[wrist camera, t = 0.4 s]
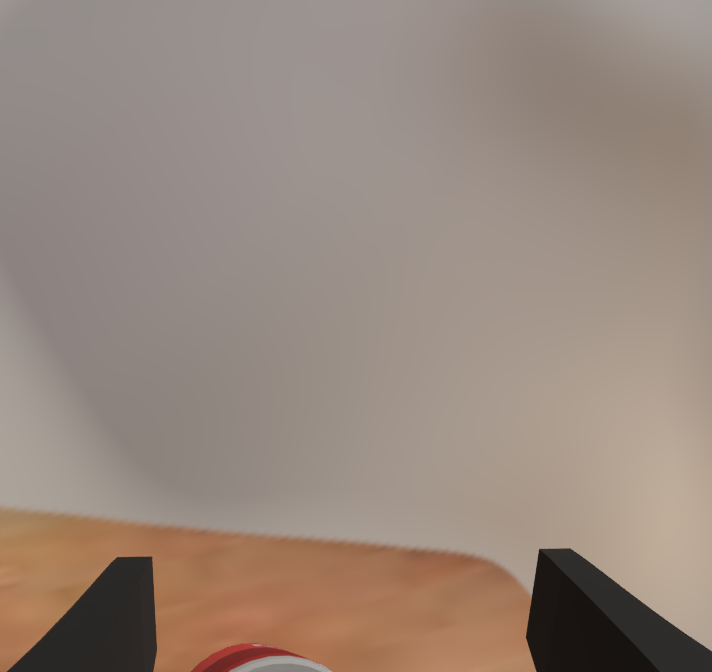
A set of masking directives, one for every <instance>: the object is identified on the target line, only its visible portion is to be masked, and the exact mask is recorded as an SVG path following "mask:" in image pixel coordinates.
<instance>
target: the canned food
mask: <svg viewBox="0 0 712 672" xmlns="http://www.w3.org/2000/svg"><path fill="white" fill-rule="evenodd" d="M191 672H332V671H331V670H329V669H328V668H327V667H325V666H323V665H321V664H319V663H317V662H314V661H312V660H309V659H307V658H305V657H302V656H299V655H296V654H293V653H290V652H288V651H285V650H282V649H279V648H276V647H273V646H269V645H263V644H258V643H254V644H240V645H235V646H231V647H227V648H225V649H223V650H220V651H218V652H216V653H214V654H212V655H211V656H209V657H208V658H206V659H205V660H203V661H202V662H201V663H199V664H198V665H197V666H196V667H195V668H194V669H193V670H192V671H191Z"/></svg>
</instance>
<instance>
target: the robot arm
mask: <svg viewBox="0 0 712 672" xmlns="http://www.w3.org/2000/svg"><path fill="white" fill-rule="evenodd" d="M526 639H527V642H528V645H529V649H530V652H531V655H532V658H533V662H534V665H535V668H536V671H537V672H712V651H710V650H709V649H707V648H706V647H704V646H703V645H701V644H700V643H698V642H697V641H695V640H694V639H692V638H691V637H689V636H688V635H687V634H685V633H684V632H682V631H681V630H679V629H678V628H677V627H675V626H674V625H672V624H671V623H669V622H668V621H667V620H665V619H664V618H663V617H661V616H660V615H658V614H657V613H656V612H654V611H653V610H651V609H650V608H649V607H648V606H646V605H645V604H643V603H642V602H641V601H640V600H638V599H637V598H636V597H634V596H633V595H631V594H630V593H629V592H628V591H626V590H625V589H624V588H622V587H621V586H620V585H619V584H617V583H616V582H615V581H613V580H612V579H611V578H609V577H608V576H607V575H606V574H604V573H603V572H602V571H600V570H599V569H598V568H596V567H595V566H594V565H592V564H591V563H590V562H588V561H587V560H586V559H584V558H583V557H582V556H580V555H579V554H577V553H576V552H574V551H573V550H571V549H539V554H538V561H537V567H536V574H535V581H534V587H533V594H532V601H531V607H530V614H529V621H528V627H527V634H526ZM156 652H157V643H156V623H155V604H154V585H153V566H152V557H117V558H116V559H115V560H114V561H113V562H111V563H110V565H109V566H108V567H107V568H106V569H105V570H104V571H103V573H102V574H101V575H100V576H99V577H98V578H97V579H96V581H95V582H94V583H93V584H92V585H91V586H90V587H89V588H88V590H87V591H86V592H85V593H84V594H83V595H82V596H81V597H80V598H79V600H78V601H77V602H76V603H75V604H74V605H73V606H72V607H71V608H70V609H69V610H68V611H67V613H66V614H65V615H64V616H63V617H62V618H61V619H60V620H59V621H58V622H57V623H56V624H55V625H54V626H53V627H52V628H51V629H50V630H49V631H48V632H47V633H46V635H45V636H44V637H43V638H42V639H41V640H40V641H39V642H38V643H37V644H36V645H35V646H34V647H33V648H31V649H30V650H29V651H28V652H27V653H26V654H25V655H24V656H23V657H22V658H21V659H20V660H19V661H18V662H17V663H16V664H15V665H14V666H13V667H11V668H10V669H9V670H8V671H7V672H153V669H154V664H155V658H156Z"/></svg>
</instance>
